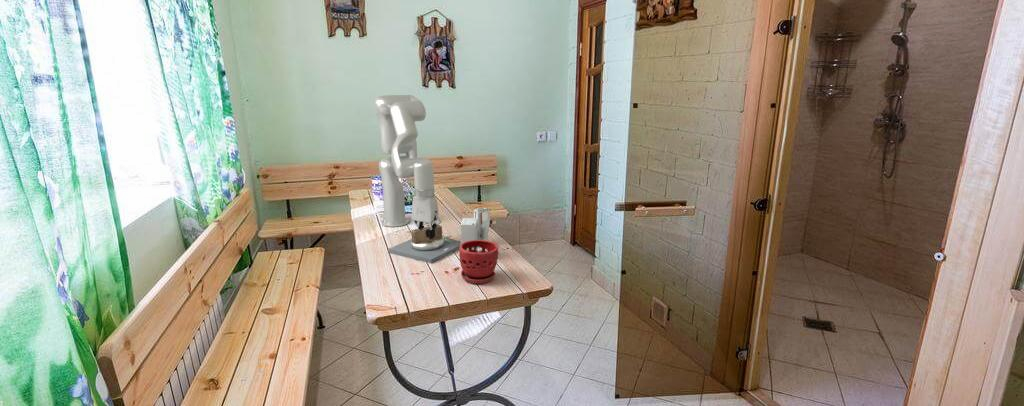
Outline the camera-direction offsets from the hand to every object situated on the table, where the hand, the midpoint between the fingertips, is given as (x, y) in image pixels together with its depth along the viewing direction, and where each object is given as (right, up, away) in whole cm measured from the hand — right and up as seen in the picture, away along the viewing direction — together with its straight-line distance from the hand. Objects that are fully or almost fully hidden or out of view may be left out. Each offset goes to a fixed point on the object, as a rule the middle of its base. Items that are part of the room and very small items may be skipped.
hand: (426, 236), depth 188 cm
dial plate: (0, -5, +1) cm, 5 cm away
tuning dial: (+2, -3, +2) cm, 4 cm away
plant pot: (+23, -13, -26) cm, 37 cm away
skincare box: (+18, -8, -7) cm, 21 cm away
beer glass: (+21, -4, +6) cm, 23 cm away
